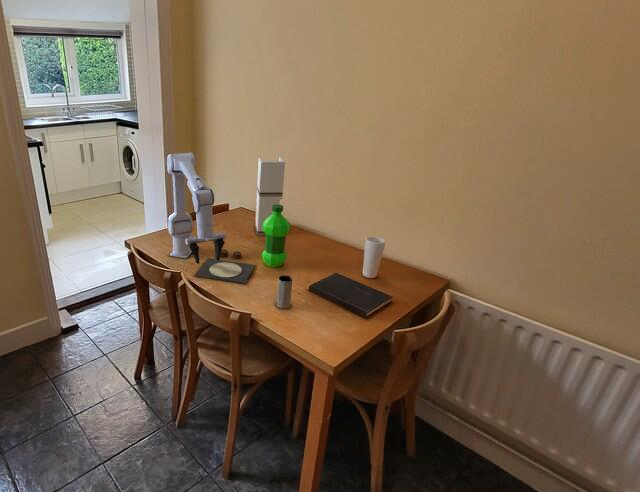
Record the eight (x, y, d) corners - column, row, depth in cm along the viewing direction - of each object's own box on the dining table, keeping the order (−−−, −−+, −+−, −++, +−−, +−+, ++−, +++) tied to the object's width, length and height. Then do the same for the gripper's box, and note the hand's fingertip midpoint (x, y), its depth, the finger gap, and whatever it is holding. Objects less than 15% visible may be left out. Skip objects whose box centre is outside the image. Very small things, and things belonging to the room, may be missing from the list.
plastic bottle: (288, 261, 170) (293, 203, 160) (282, 272, 162) (286, 211, 151) (265, 257, 174) (269, 200, 164) (257, 267, 166) (260, 208, 155)
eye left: (221, 253, 178) (221, 248, 177) (228, 254, 177) (229, 250, 176) (218, 256, 175) (218, 252, 174) (226, 257, 174) (226, 253, 173)
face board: (208, 259, 173) (208, 257, 172) (254, 266, 167) (254, 264, 166) (194, 276, 159) (194, 274, 159) (244, 284, 153) (245, 282, 153)
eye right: (234, 255, 177) (234, 250, 176) (242, 256, 175) (242, 251, 175) (231, 258, 173) (232, 254, 173) (240, 259, 172) (240, 255, 172)
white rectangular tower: (279, 235, 196) (285, 162, 182) (257, 235, 197) (261, 162, 182) (276, 226, 207) (281, 156, 192) (255, 226, 207) (258, 156, 192)
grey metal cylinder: (275, 301, 142) (277, 275, 137) (288, 301, 142) (290, 275, 137) (278, 309, 137) (280, 282, 133) (291, 308, 138) (294, 281, 133)
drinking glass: (378, 272, 161) (385, 237, 154) (378, 280, 155) (385, 244, 148) (360, 270, 163) (366, 235, 156) (360, 278, 157) (366, 242, 150)
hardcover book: (335, 277, 157) (335, 272, 156) (391, 302, 141) (392, 296, 140) (308, 291, 148) (308, 285, 147) (365, 318, 132) (366, 312, 131)
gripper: (188, 229, 137) (192, 267, 141) (228, 223, 142) (230, 260, 146) (182, 225, 144) (185, 262, 147) (220, 220, 148) (222, 256, 152)
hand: (207, 261), depth 147 cm, fingers open, 7 cm apart
